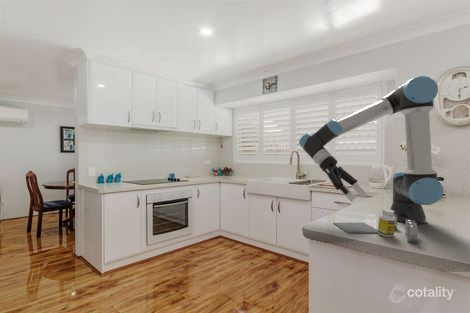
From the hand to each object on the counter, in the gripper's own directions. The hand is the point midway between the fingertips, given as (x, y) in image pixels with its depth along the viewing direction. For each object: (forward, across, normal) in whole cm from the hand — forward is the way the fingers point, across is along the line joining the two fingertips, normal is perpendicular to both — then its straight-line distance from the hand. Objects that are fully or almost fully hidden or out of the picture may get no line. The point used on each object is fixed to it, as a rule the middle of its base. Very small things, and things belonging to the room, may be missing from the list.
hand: (359, 197), depth 104 cm
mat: (+8, -2, -11) cm, 14 cm away
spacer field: (+20, -5, +1) cm, 20 cm away
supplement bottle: (+16, 0, -3) cm, 17 cm away
